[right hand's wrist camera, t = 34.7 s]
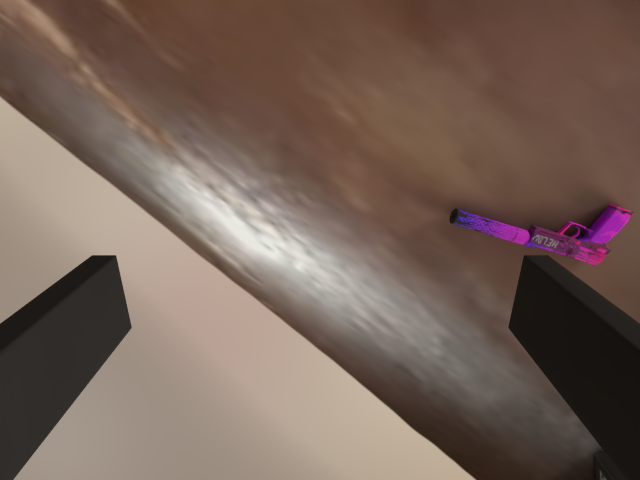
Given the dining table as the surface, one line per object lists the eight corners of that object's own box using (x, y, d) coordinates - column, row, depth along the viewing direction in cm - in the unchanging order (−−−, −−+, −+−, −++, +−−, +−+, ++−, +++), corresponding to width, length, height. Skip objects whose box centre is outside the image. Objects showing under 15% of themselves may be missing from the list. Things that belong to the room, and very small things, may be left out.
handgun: (626, 208, 47) (639, 213, 45) (594, 263, 50) (604, 270, 48) (472, 162, 45) (478, 165, 43) (446, 222, 48) (452, 227, 46)
